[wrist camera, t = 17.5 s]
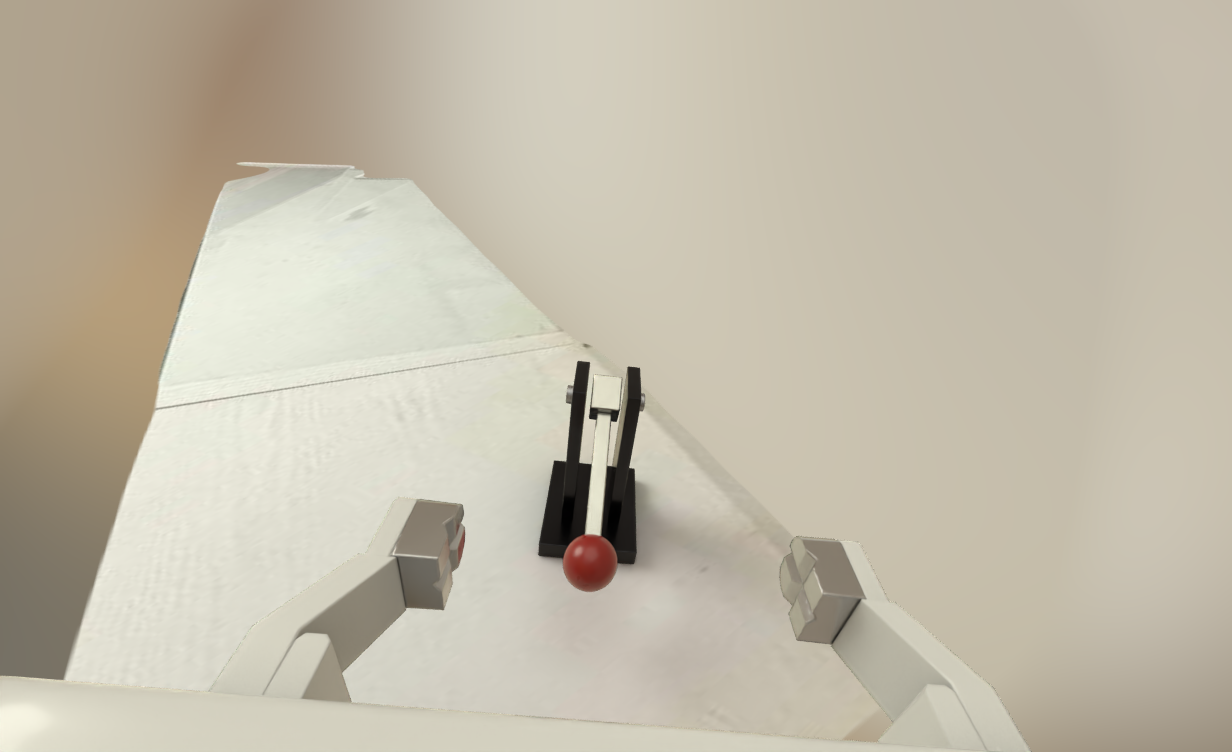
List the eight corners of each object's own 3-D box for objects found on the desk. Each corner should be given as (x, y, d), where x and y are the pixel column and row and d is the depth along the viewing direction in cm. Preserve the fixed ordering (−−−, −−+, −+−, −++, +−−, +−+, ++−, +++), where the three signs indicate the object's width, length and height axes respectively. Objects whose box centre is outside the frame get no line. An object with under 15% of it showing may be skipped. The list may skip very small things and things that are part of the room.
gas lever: (612, 595, 33) (617, 592, 30) (559, 591, 33) (559, 587, 30) (627, 394, 40) (632, 374, 37) (583, 389, 40) (585, 369, 37)
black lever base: (634, 564, 41) (664, 425, 33) (538, 555, 40) (546, 412, 32) (632, 479, 49) (656, 352, 41) (553, 471, 49) (562, 341, 41)
